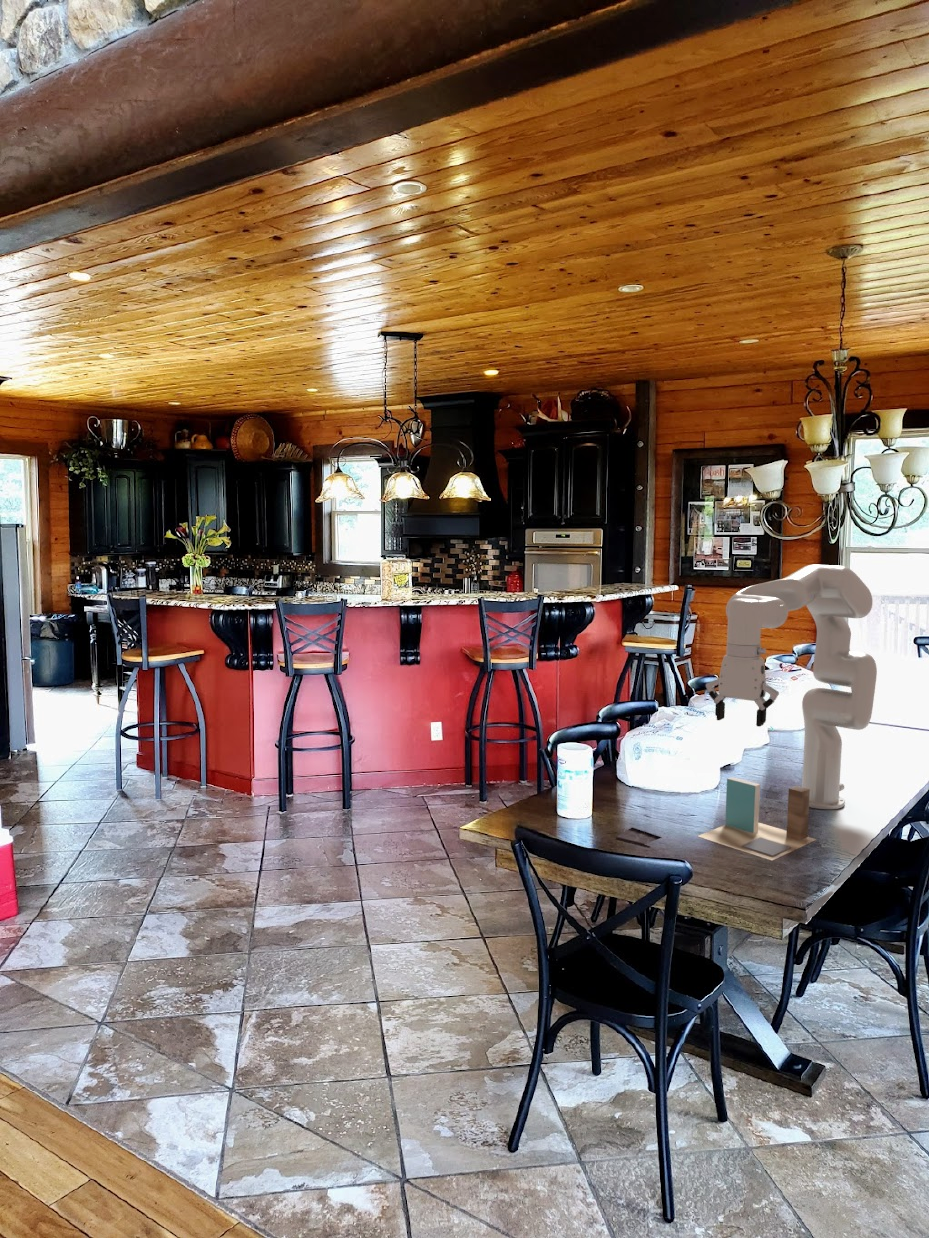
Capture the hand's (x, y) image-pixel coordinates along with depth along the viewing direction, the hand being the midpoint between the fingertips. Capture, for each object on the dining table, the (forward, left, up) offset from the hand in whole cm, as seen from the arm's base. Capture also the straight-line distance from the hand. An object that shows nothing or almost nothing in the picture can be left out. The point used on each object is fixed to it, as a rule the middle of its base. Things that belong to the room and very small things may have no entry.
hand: (740, 722), depth 216 cm
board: (-4, +4, -30) cm, 30 cm away
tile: (-7, -2, -28) cm, 29 cm away
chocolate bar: (+10, -17, -30) cm, 36 cm away
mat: (0, +9, -28) cm, 30 cm away
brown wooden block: (-12, +10, -28) cm, 32 cm away
